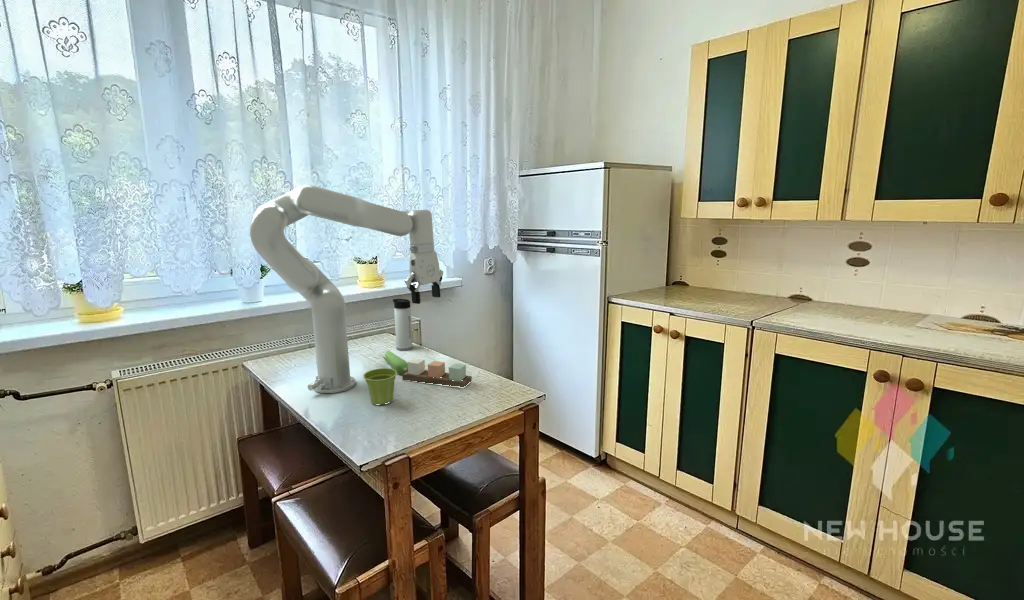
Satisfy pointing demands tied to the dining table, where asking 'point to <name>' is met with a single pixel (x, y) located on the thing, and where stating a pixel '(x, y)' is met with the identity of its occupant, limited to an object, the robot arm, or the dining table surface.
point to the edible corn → (396, 362)
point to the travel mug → (403, 324)
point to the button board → (436, 379)
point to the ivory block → (416, 366)
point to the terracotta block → (436, 369)
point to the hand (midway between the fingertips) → (426, 300)
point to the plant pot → (380, 384)
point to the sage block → (457, 372)
